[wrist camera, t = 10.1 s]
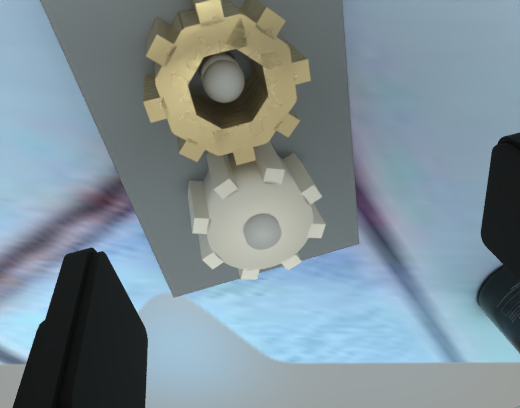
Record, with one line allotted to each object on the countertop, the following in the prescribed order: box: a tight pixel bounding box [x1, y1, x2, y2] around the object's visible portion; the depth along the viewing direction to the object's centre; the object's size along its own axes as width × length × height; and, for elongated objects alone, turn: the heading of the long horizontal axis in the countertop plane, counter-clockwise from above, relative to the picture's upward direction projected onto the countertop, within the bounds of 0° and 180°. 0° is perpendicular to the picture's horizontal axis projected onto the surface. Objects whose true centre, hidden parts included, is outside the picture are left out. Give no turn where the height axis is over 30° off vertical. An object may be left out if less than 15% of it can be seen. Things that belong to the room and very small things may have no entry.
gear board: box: [40, 0, 359, 297], centre depth 21 cm, size 14×30×6 cm, turn 11°
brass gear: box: [143, 0, 311, 165], centre depth 21 cm, size 8×8×4 cm
